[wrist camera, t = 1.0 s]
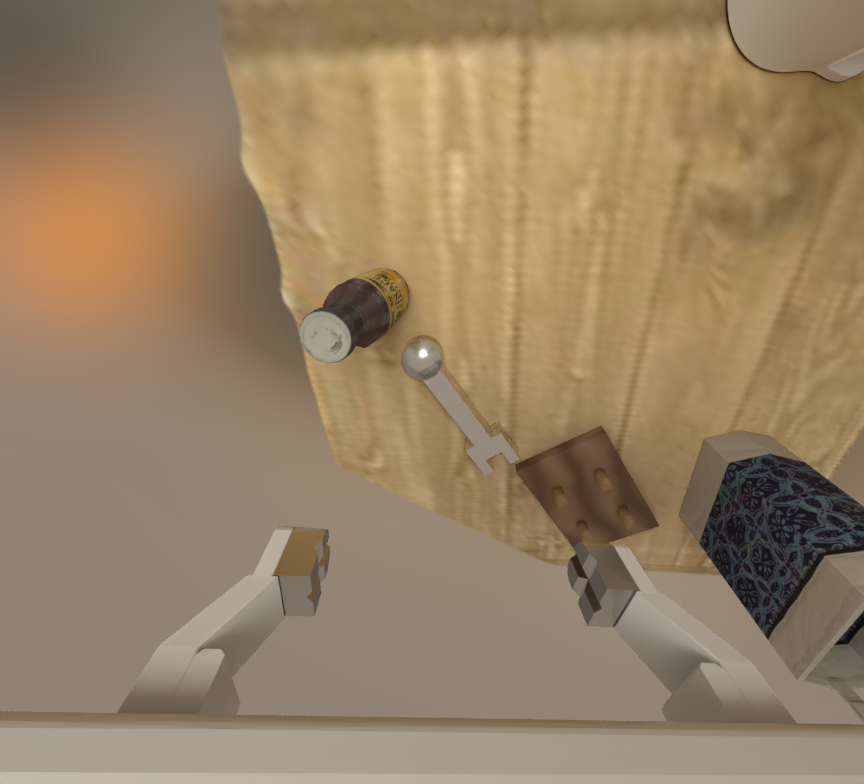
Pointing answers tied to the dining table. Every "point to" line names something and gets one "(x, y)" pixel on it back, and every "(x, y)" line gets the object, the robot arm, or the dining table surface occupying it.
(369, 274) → the sauce bottle
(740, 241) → the dining table surface
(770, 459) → the bag
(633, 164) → the dining table surface
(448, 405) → the ball-tipped notched rod
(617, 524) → the peg rack
